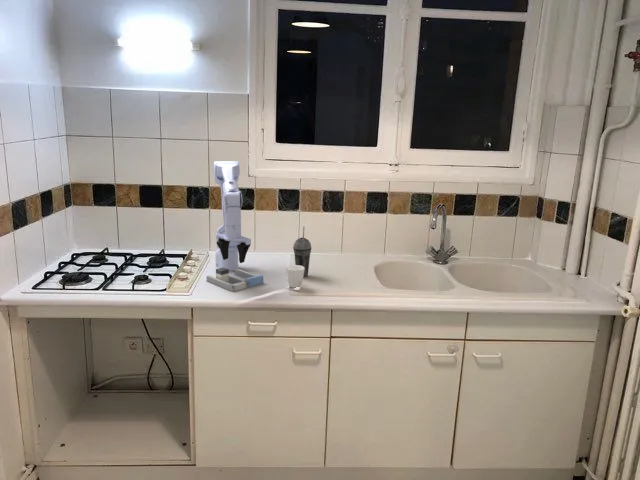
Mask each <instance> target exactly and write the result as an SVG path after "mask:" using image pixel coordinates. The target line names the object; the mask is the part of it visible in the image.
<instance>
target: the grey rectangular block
mask: <svg viewBox="0 0 640 480" xmlns="http://www.w3.org/2000/svg"><path fill="white" fill-rule="evenodd" d="M229 273H230V271H229V269H226V268H224V267H223V268H218V267H217V268H215V278H217V279H220V280H222V281H225V282H227V283H228V282H229Z"/></svg>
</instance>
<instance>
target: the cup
mask: <svg viewBox="0 0 640 480" xmlns="http://www.w3.org/2000/svg"><path fill="white" fill-rule="evenodd" d="M304 270H305V268H304V267H303V266H300V265H295V264H291V265H288V266H286V267H285V271H286V272H285V273H286V278H287V284H288V288H289V290H291V289H294V288H296V287H301V286H302V283H303V281H304V278H303V275H304ZM291 291H292V290H291ZM293 291H296V290H295V289H294V290H293Z"/></svg>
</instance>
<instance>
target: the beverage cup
mask: <svg viewBox="0 0 640 480" xmlns="http://www.w3.org/2000/svg"><path fill="white" fill-rule="evenodd" d="M292 249H293V253H294V265H300V266H303V267H304V268H305V270H304V275H303V277H306V278H308V276H309V275H308V274H309V269H310V261H311V252H312V244H311V242H310V240H309V239H307V238H306V237H305V226H303V227H302V237H299V238H297V239H296V240H295V241H294V243H293V246H292Z"/></svg>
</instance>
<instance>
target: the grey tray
mask: <svg viewBox="0 0 640 480" xmlns="http://www.w3.org/2000/svg"><path fill="white" fill-rule="evenodd" d="M205 277H206V282H207V283H208V284H211V285H214V286H215V287H216V286H217V287H219V288H221V289H223V290H226V291H228V292H232V293H233V292H236V291H240V290H243V289H247V288H251V287H255V286H258V285H261V284H264V283H265V282H264V281H265V279H264V274H263V275H262V274H254V273H251V272H248V271H245V270H243V269H241V268H239V267H238V268H237V269H235V270H234V274H231V273H230V272H229V282H228V283H227V282H225V281H222V280H220V279H217V278H216V276H212V275H206V276H205Z"/></svg>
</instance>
